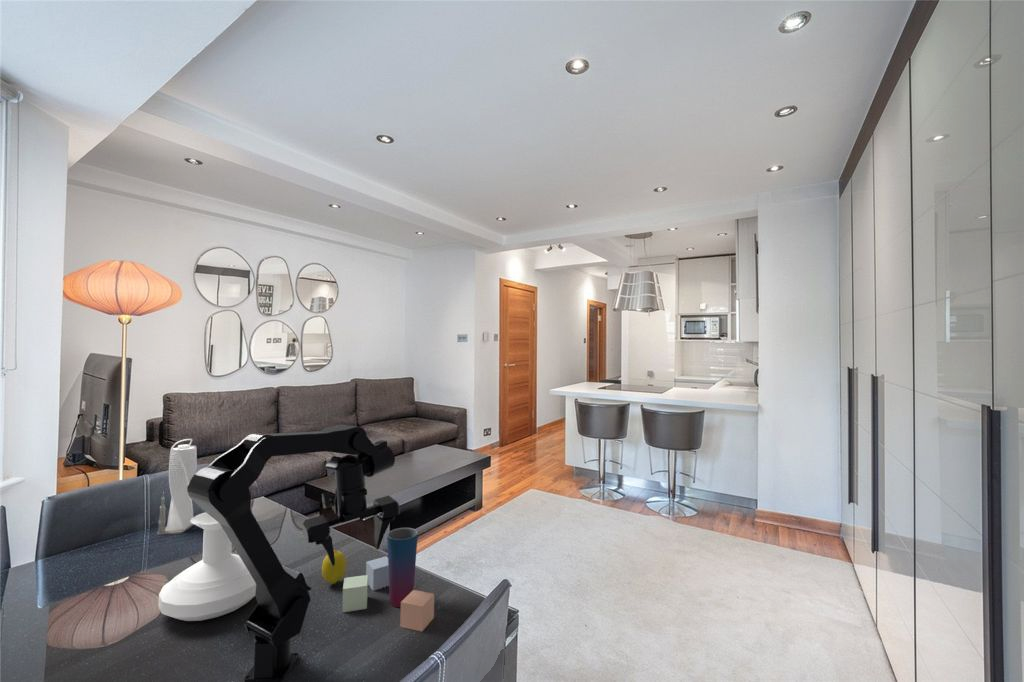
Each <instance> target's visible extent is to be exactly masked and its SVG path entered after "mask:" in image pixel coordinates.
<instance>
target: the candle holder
mask: <svg viewBox="0 0 1024 682" xmlns="http://www.w3.org/2000/svg"><path fill="white" fill-rule="evenodd" d="M190 522H191V523H192V524H194V525H193V526H197V527H199V528H200V529H203V540H202V559H201V560H199V561H197V562H196V563H194V564H193V565H191V566H189V567H188V568H186V569H184V570H183V571H181V572H180V573H178V574H177V575H175V576H174V577H173V578H172V579H171V580H170V581H168V582H167V583H166V584H164V585H163V586H162V588H161V590H160V592H159V594H158V608H159V611H160V612H161V614H162V615H165V616H167V617H171V618H173V619H177V620H180V621H184V622H196V621H197V622H199V621H200V622H201V621H205V620H210V619H211V620H212V619H215V618H218V617H222V616H224V615H227V614H229V613H232V612H234V611H236V610H238V609H240V608H241V607H243V606H244V605H246V604H248V603H249V602H250V601H251V600H252V599H253V598H254V597H256V596H255V593H256V583H255V581H254V579H253V578H252V576H251V574H250V573H249V571H248V569H247V568H246V566H245V564H244V563H243V561H242V559H241V558H240V556H239V554H236V553H232V548H233V547H232V546H233V545H232V543H231V541H230V540H229V538H228V536H227V535H226V533H225V531H224V530H223V528H222V526H221V525H220V523H219V522H218V521H216V520H215V519H214V518H213V517H211V516H210V515H209V514H207V513H206V512H205V511H204V512H202V513H199V514H197V515H195V516H194V517H193V518H192V519H191V521H190Z"/></svg>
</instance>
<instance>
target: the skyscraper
mask: <svg viewBox="0 0 1024 682" xmlns="http://www.w3.org/2000/svg"><path fill="white" fill-rule="evenodd" d="M184 441H185V442H186V441H190V442H189V443H188V444H179V443H181V442H184ZM192 443H193V438H184V439H181V440H178V441H176V442H175V443H174V444H173V445H172V446H171V447H170V453H169V458H168V459H169V460H168V485H169V491H170V495H171V496H170V497H171V499H170V505H169V509H168V510H169V511H168V515H167V519H166V508H167V505H165V499H166V498H165V494H164V493H165V492H164V491H163V492H162V497H161V498H160V499H161V501H160V502H161V505H160V506H159V518H158V523H157V524H158V529H157V533H156V536H157V535H159V536H160V535H175V534H183V533H184V532H185V531H187V530H189V529H190V528H191V527H194V526H195V525H194V524H192V523H191V522H190V521H191V519H192V518H193V517H195V516H194V505H193V500H192V499H191V498H190V496H189V494H188V492H187V486H188V485H189V483H190V480H191V479H192V477H193V476H194V474H196V473H197V467H198V466H197V465H198V464H197V462H198V460H197V459H198V456H197V455H198V453H197V452H198V451H197V446H196V445H192ZM177 444H179V445H177ZM176 445H177V447H175V446H176ZM166 520H167V524H166Z"/></svg>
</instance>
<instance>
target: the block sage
mask: <svg viewBox="0 0 1024 682" xmlns="http://www.w3.org/2000/svg"><path fill="white" fill-rule="evenodd" d="M368 587H369V586H368V575H366V574H365V575H357V576H356V575H355V576H350V577H349V576H348V577H344V579H343V586H342V607H341V608H342V613H348V612H354V611H355V612H356V611H361V610H366V609H367V608H368Z"/></svg>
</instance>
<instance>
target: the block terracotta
mask: <svg viewBox="0 0 1024 682" xmlns="http://www.w3.org/2000/svg"><path fill="white" fill-rule="evenodd" d="M399 618H400V619H399V620H400V621H399V622H400V628H404V629H409V630H413V631H416V632H422V633H423V631H424V630H425V629H426V627H427V626H428V625H429V624H430V623H431V622H432V621H433V619H434V618H435V593H432V592H426V591H422V590H417V589H414V590H413V591H412V592H411V593H410V594H409V595H408V596H407V597H406V598H405V599H403V600H402V601H401V607H400V617H399Z"/></svg>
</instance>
